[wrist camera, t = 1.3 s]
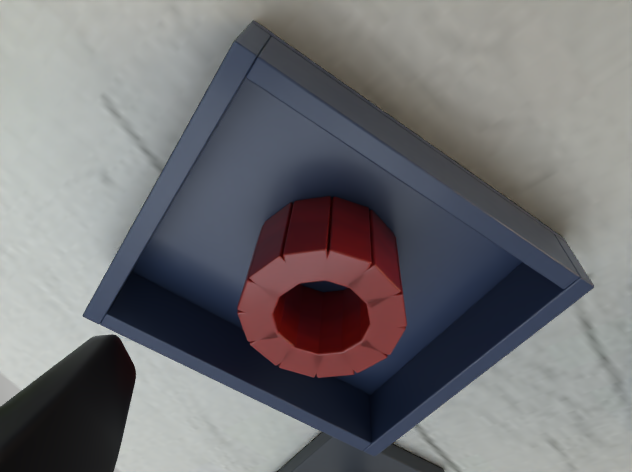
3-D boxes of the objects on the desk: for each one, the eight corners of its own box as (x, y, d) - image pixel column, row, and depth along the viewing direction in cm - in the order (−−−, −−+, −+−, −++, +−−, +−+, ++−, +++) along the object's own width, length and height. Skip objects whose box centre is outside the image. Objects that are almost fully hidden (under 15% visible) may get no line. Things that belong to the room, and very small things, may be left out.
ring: (430, 246, 22) (444, 306, 19) (343, 334, 25) (341, 400, 22) (305, 166, 20) (295, 216, 17) (228, 271, 24) (207, 331, 20)
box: (564, 238, 22) (596, 287, 19) (372, 402, 28) (374, 457, 26) (253, 19, 18) (234, 40, 15) (113, 269, 24) (81, 316, 22)
